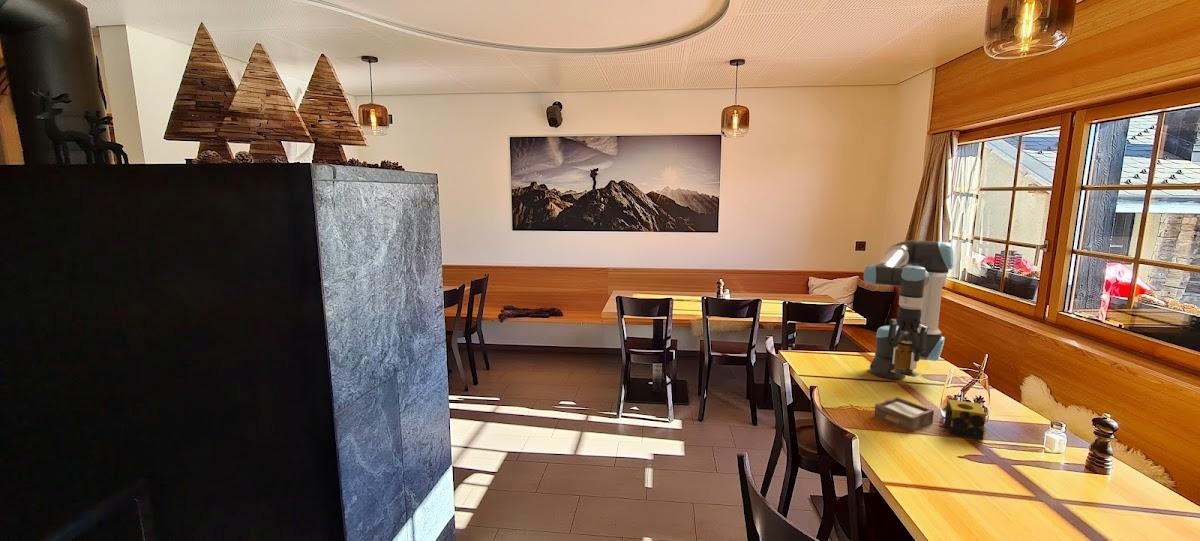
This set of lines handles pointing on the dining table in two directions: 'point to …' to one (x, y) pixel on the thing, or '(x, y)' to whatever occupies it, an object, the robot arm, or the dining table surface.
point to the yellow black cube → (965, 419)
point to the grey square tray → (904, 414)
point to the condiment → (904, 359)
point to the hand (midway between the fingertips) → (904, 366)
